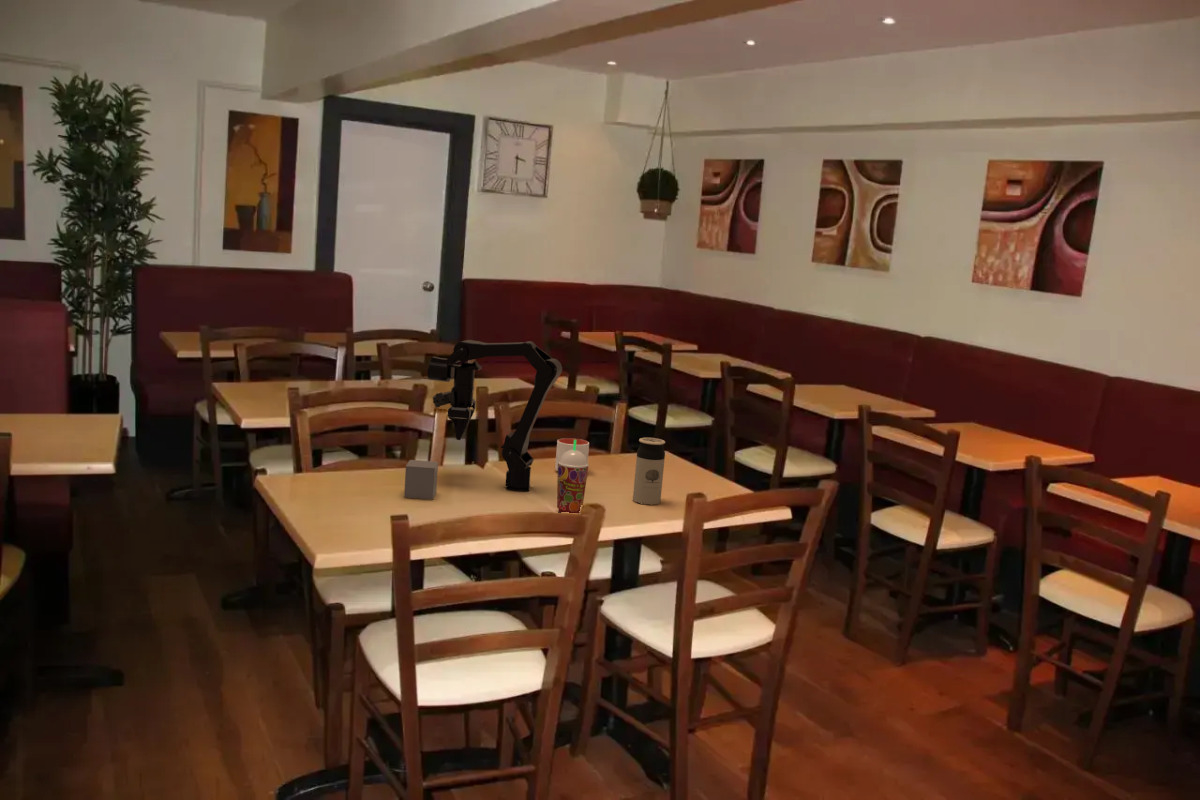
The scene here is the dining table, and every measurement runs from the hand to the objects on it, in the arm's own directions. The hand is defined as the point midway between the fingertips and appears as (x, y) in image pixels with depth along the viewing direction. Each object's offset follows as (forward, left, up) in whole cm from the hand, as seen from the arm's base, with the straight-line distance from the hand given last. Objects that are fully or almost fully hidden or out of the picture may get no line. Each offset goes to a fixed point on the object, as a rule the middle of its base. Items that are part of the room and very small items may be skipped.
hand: (460, 436), depth 295 cm
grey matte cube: (+8, +20, -13) cm, 25 cm away
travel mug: (-55, +8, -13) cm, 57 cm away
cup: (-33, -21, -13) cm, 41 cm away
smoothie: (-33, +26, -13) cm, 44 cm away
